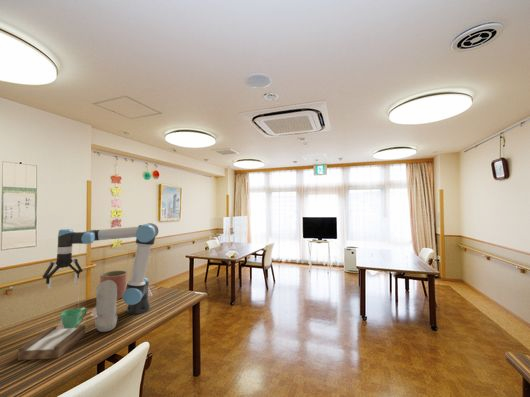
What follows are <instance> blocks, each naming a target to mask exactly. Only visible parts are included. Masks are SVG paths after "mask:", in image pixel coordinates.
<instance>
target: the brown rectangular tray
mask: <svg viewBox="0 0 530 397" xmlns="http://www.w3.org/2000/svg"><path fill="white" fill-rule="evenodd" d="M85 335H86V325H80V326H78V327H75V328H67V329H65V328H56V326H49V327H48V328H47V329H45V330H44V331H43V332H41V333H39V334H38V335H37V336H35V337H34V338H33V339H30V340H29V341H28V342H26V343H25V344H23V345H22V346H20V347H18V352H17V355H18V356H17V361H26V360H27V361H28V360H46V359H59V358H60V356H61V355H62V356H63V355H64V354H65V353H66V352H68V351H69V350H70V349H71V348H72V347H73V346H74V345H75V344H77V343H78V342H79V341H80V340H81V339H82V338H83V337H84V336H85ZM62 356H61V357H62Z"/></svg>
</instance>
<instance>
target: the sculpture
mask: <svg viewBox="0 0 530 397" xmlns="http://www.w3.org/2000/svg"><path fill="white" fill-rule="evenodd" d="M95 297H96V299H95V300H96V303H95V304H96V306H95V308H96V315H97V316H96V317H95V320H94V326H95V329H96V330H97V331H98V332H100V333H107V332H109V331H112V330H113V329H115V328H116V326H117V323H118V314H117V306H118V305H117V301H118V300H117V285H116V283H115V282H114V281H112V280H106V281H104V282H102V283H100V282H99V283H98V284H97V286H96V296H95Z"/></svg>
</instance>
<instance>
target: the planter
mask: <svg viewBox="0 0 530 397" xmlns="http://www.w3.org/2000/svg"><path fill="white" fill-rule="evenodd" d="M99 276H100V277H99V283H102V282H104V281H106V280H112V281H114V282H115V283H116V285H117V301H119V300H120V299H121V298H122V299H123V293H124V292H125V290H126V286H127V282H128V271H126V270H118V269H117V270H110V271H109V270H108V271H105V272H102V273H100V275H99Z"/></svg>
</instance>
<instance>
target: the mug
mask: <svg viewBox="0 0 530 397" xmlns="http://www.w3.org/2000/svg"><path fill="white" fill-rule="evenodd" d="M87 311H88V310H87V308H86V307H81V308H70V309H68V310H64V311H62V312H61V313H60V318H61V323H62V325H63V329H67V328H77V325H78V324H80V323H81V322H82V321H83V319H84V318H85V317H86V314H87Z"/></svg>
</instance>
